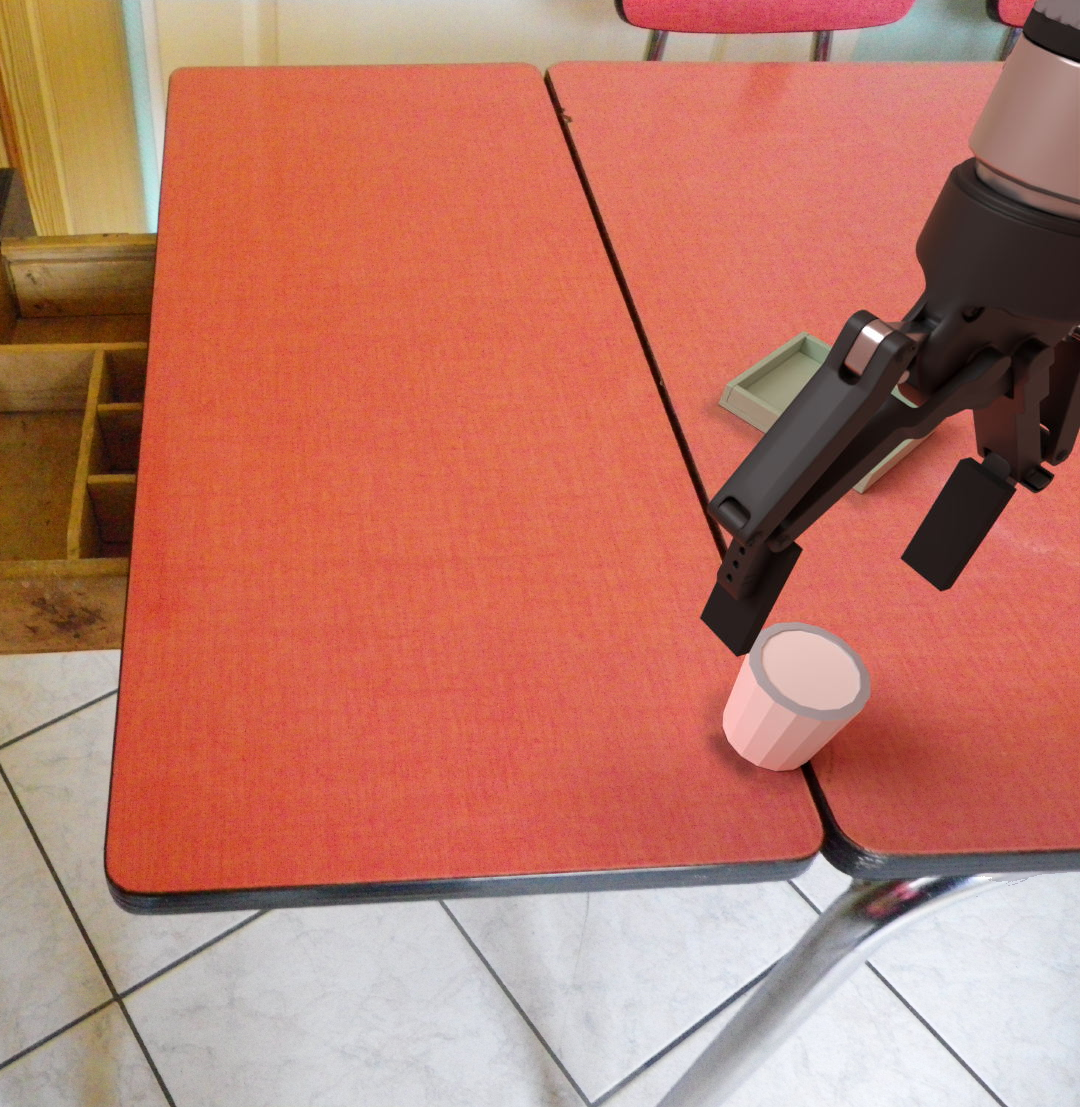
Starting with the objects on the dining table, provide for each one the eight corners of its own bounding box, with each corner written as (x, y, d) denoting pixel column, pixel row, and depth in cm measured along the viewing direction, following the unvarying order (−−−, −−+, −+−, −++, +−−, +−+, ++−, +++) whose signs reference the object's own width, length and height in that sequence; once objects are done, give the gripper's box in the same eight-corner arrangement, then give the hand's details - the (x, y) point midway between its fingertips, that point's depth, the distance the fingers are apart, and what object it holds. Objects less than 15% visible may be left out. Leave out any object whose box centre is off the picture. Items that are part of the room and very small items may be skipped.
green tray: (934, 431, 82) (947, 410, 81) (861, 494, 77) (873, 473, 76) (794, 350, 89) (803, 330, 87) (717, 404, 84) (726, 383, 82)
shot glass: (754, 666, 67) (793, 601, 61) (846, 738, 63) (896, 676, 58) (689, 723, 64) (724, 660, 58) (782, 801, 60) (828, 742, 55)
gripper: (1180, 126, 44) (943, 509, 58) (733, 168, 35) (581, 609, 49) (1368, 196, 39) (1058, 596, 53) (903, 266, 30) (679, 726, 44)
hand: (828, 603), depth 51 cm, fingers open, 13 cm apart
